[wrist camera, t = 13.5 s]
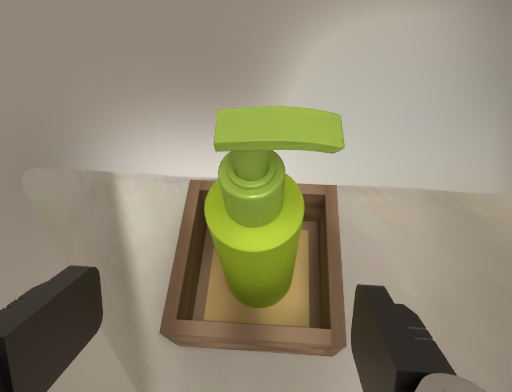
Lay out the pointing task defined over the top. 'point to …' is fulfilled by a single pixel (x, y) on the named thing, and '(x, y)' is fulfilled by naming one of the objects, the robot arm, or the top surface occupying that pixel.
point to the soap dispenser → (262, 195)
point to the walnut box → (259, 319)
